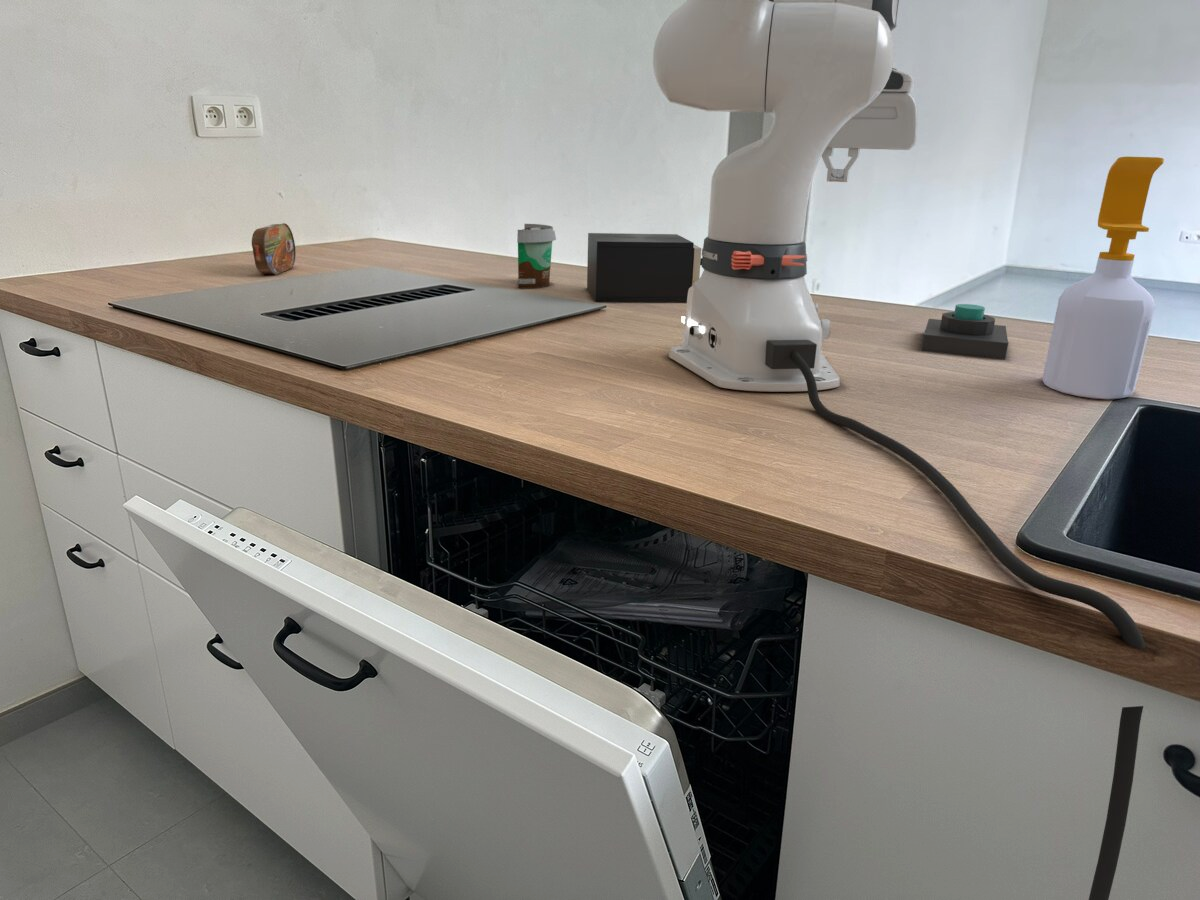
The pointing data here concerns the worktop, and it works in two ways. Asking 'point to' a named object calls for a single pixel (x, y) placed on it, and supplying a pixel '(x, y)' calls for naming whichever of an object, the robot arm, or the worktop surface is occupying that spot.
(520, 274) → the coffee cup
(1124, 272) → the soap bottle
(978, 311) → the button
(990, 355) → the control block
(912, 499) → the worktop surface
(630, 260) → the cabinet
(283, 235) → the tin
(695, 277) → the drawer
